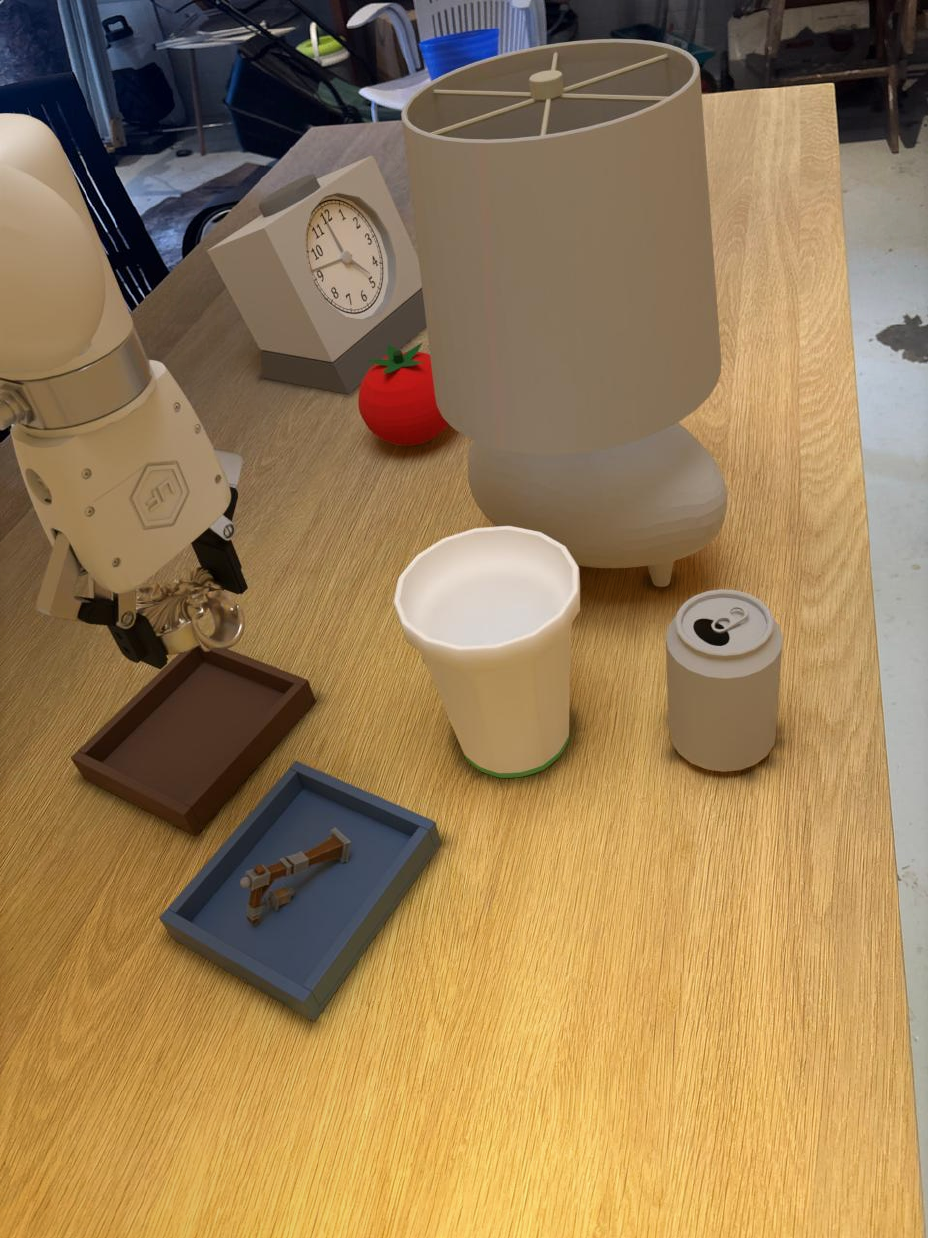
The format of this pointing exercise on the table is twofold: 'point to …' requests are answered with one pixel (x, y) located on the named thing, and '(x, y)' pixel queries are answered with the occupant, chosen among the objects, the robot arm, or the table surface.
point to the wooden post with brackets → (294, 864)
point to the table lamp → (574, 292)
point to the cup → (496, 641)
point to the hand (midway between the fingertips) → (189, 620)
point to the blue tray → (304, 888)
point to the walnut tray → (194, 734)
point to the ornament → (191, 612)
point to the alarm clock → (325, 278)
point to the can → (723, 679)
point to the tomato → (401, 398)
